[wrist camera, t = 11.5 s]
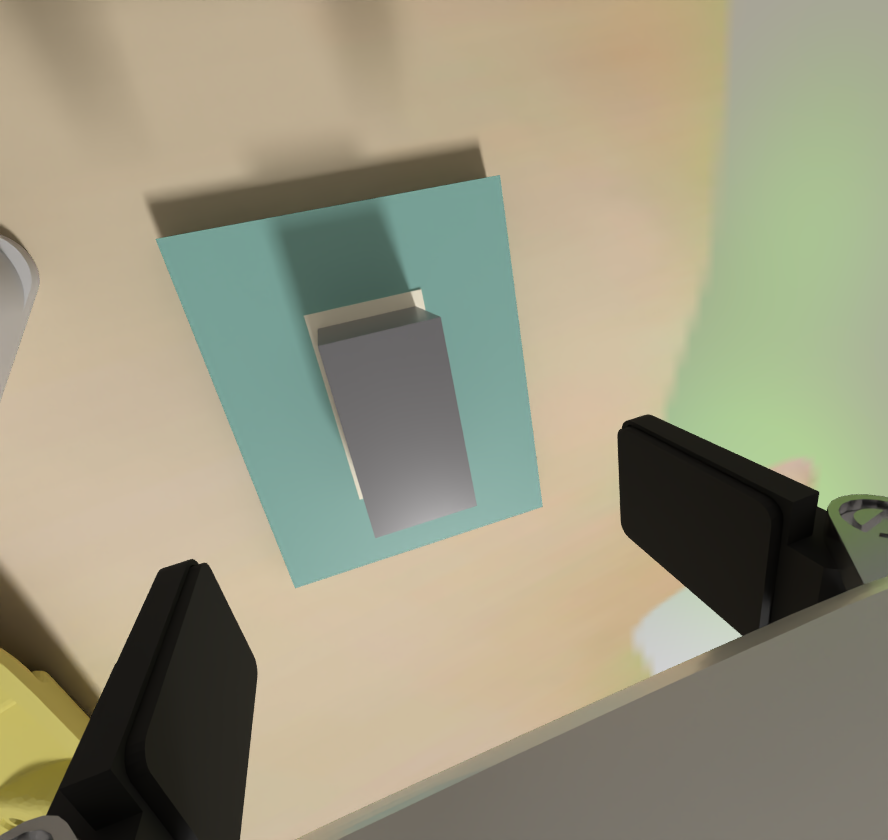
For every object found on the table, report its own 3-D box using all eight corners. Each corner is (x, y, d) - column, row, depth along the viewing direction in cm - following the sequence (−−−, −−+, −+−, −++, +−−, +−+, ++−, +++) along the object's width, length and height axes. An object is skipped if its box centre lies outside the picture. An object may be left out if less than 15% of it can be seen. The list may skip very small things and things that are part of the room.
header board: (296, 570, 25) (292, 623, 21) (167, 240, 18) (130, 235, 15) (531, 494, 27) (564, 530, 23) (488, 180, 21) (524, 163, 17)
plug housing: (364, 488, 22) (375, 538, 18) (317, 328, 19) (317, 346, 15) (448, 462, 23) (477, 505, 19) (415, 306, 20) (440, 316, 16)
